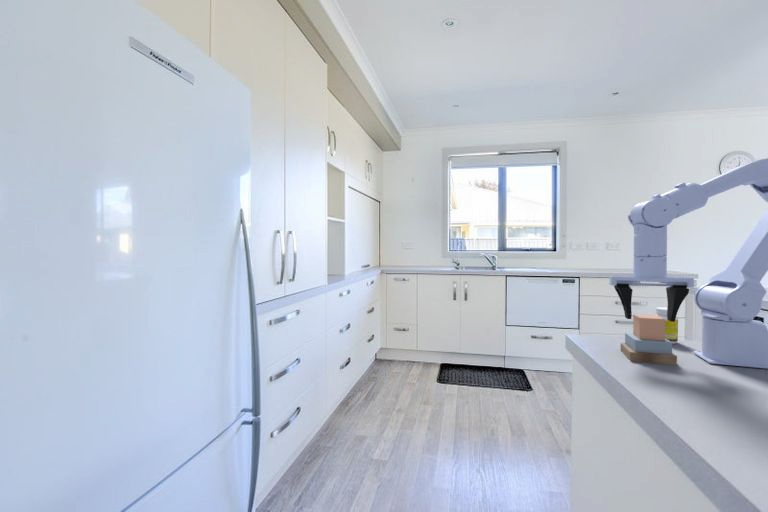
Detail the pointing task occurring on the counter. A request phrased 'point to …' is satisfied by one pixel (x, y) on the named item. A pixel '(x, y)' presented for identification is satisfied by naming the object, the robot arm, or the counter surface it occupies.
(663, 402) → the counter surface
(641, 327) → the terracotta block
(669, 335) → the supplement bottle
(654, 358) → the walnut base block
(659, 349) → the slate middle block
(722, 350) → the robot arm
